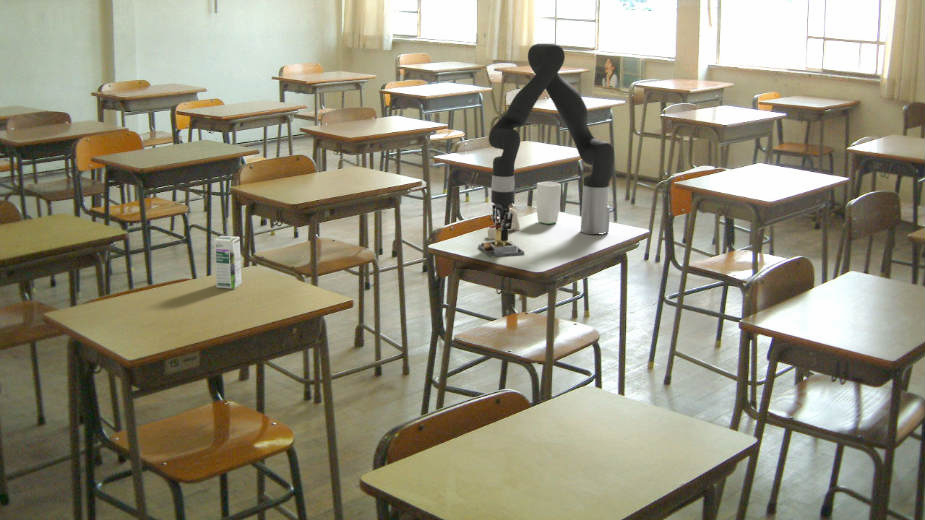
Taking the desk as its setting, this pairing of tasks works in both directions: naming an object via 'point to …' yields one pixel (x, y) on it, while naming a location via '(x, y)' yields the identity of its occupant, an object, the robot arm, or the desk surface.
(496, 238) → the valve
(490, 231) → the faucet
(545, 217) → the cup
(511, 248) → the grey compartment tray
